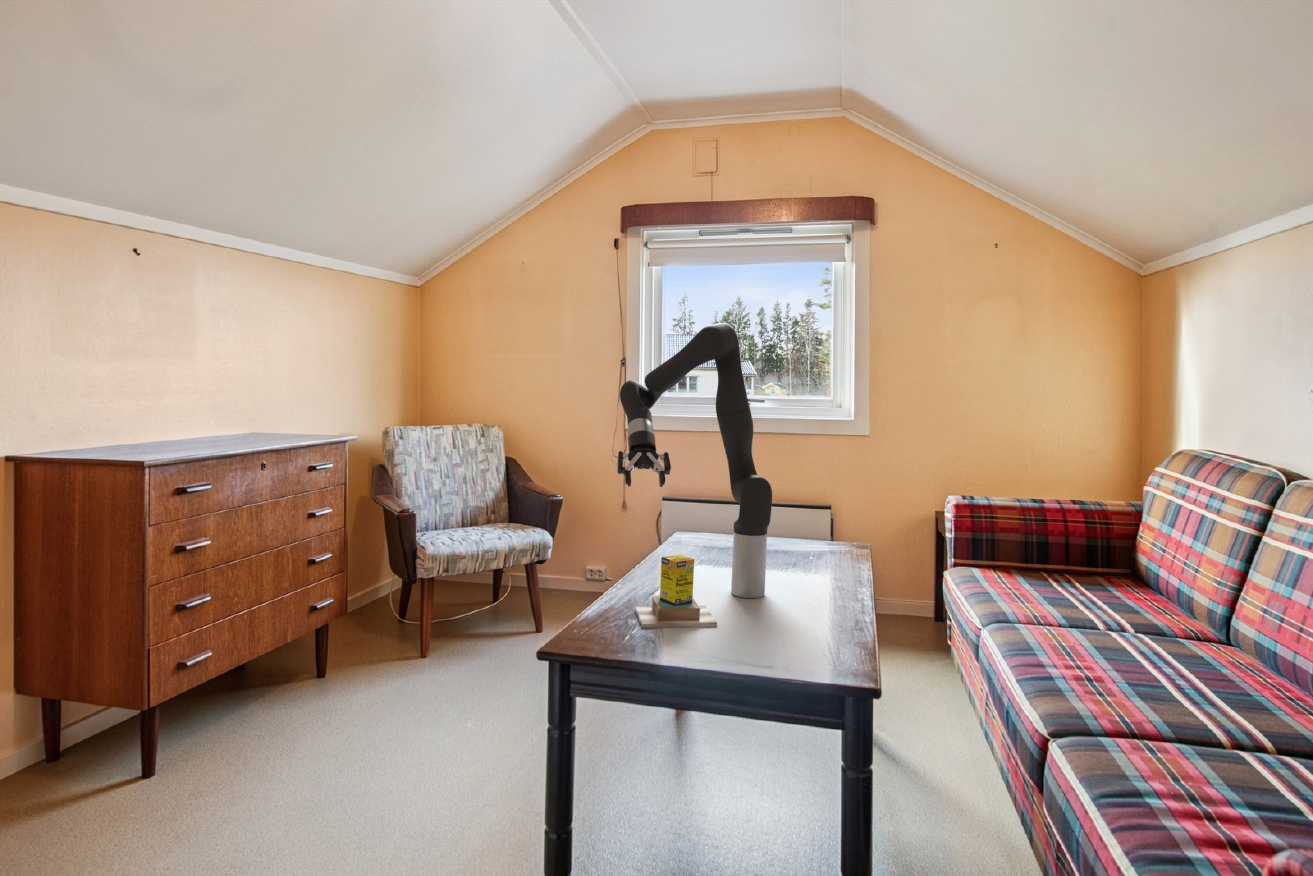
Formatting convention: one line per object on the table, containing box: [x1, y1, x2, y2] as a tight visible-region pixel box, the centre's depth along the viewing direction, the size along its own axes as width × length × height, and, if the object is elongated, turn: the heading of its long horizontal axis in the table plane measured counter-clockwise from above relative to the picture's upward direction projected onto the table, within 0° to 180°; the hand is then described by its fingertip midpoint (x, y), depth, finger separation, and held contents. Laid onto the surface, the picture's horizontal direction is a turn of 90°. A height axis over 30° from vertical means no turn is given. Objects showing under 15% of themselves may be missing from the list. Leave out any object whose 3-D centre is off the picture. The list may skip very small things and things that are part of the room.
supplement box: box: [659, 554, 695, 606], centre depth 173 cm, size 6×6×11 cm
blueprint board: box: [635, 595, 718, 629], centre depth 174 cm, size 13×18×4 cm
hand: (645, 484), depth 187 cm, fingers open, 8 cm apart
